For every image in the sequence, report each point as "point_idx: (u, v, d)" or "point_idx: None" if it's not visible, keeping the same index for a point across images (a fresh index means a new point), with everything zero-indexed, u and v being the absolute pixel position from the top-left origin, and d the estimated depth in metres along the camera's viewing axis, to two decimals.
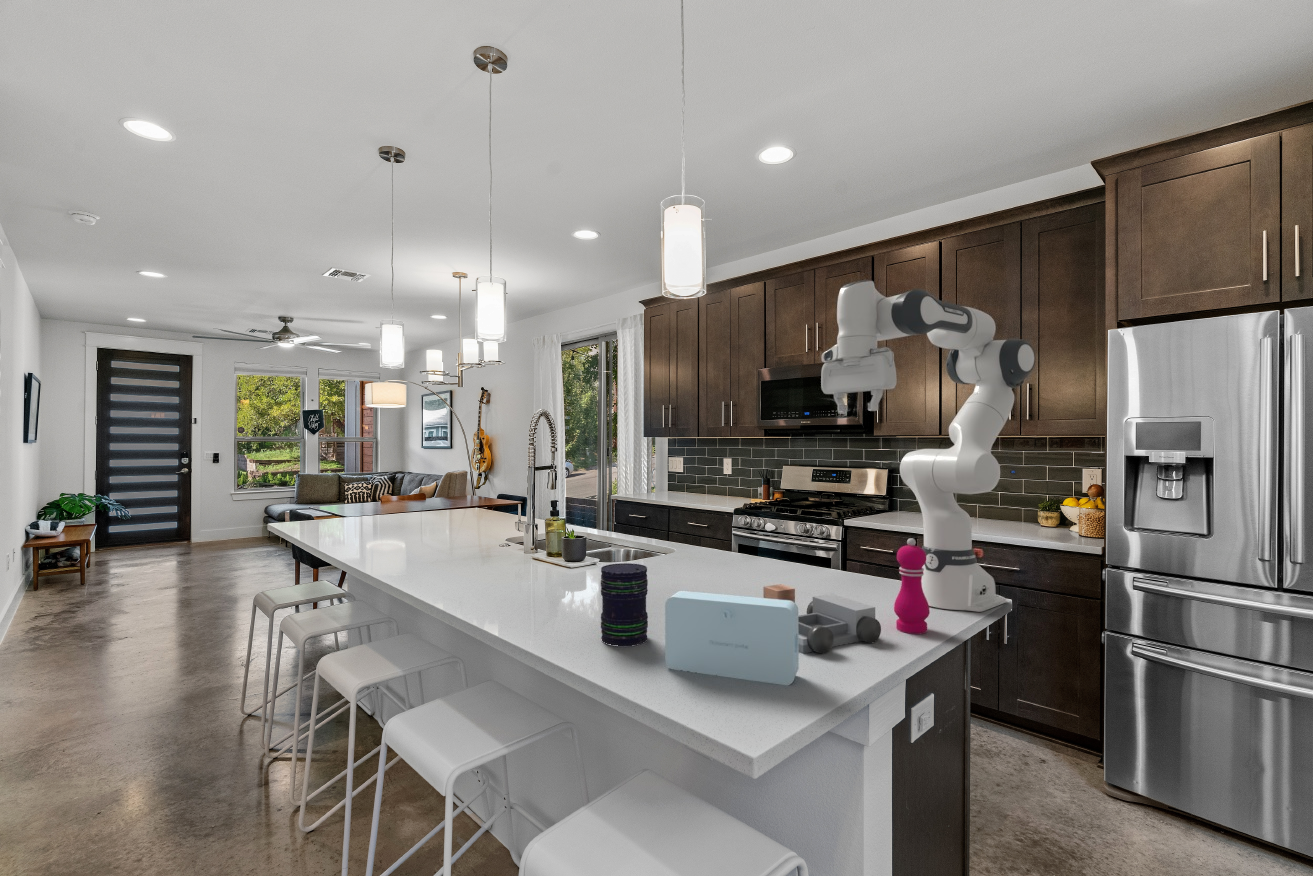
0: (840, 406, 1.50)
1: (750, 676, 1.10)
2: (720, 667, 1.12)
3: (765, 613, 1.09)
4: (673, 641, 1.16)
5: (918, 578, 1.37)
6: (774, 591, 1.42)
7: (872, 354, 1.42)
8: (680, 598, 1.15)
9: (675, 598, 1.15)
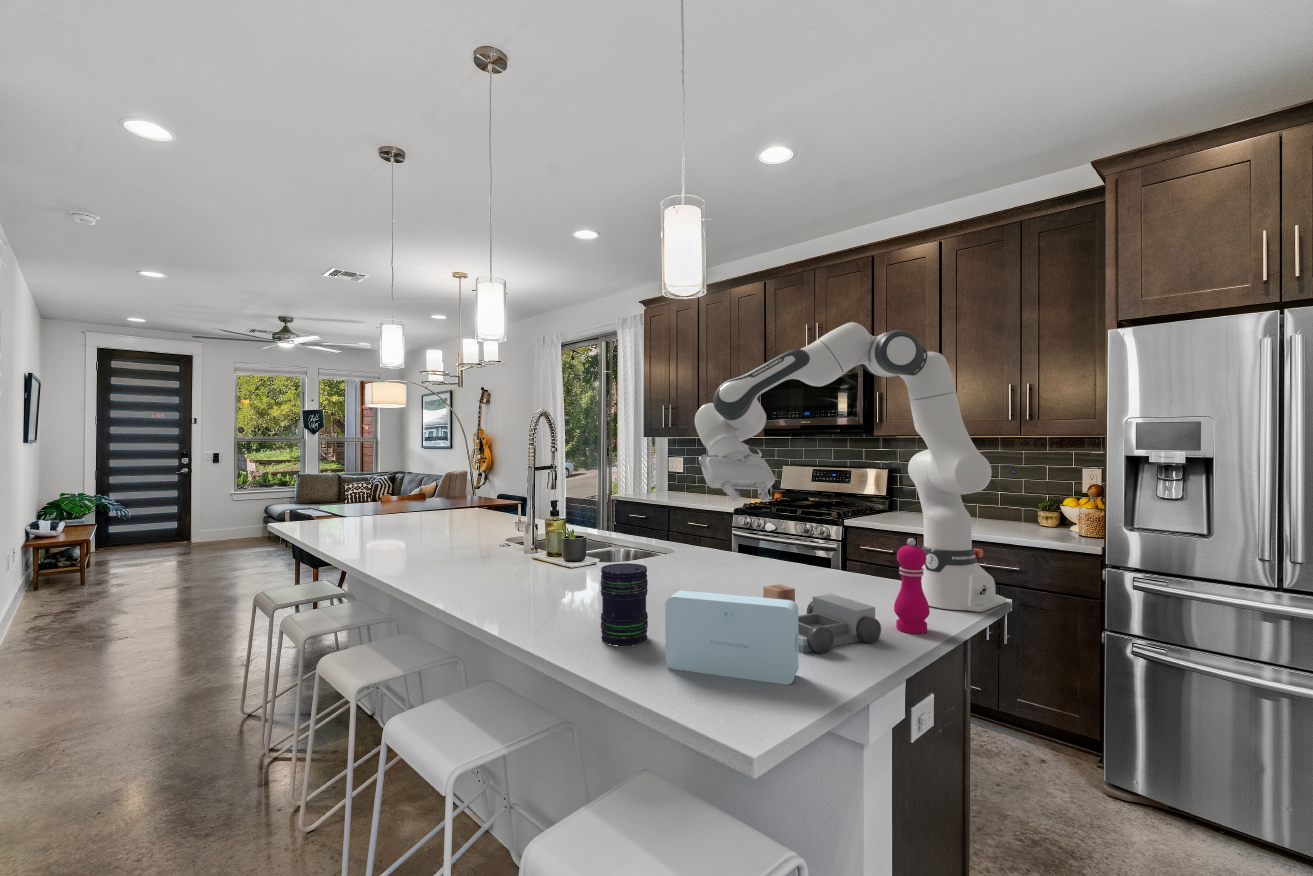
0: None
1: (750, 675, 1.11)
2: (720, 666, 1.13)
3: (765, 612, 1.10)
4: (673, 641, 1.16)
5: (918, 578, 1.37)
6: (774, 591, 1.42)
7: None
8: (680, 598, 1.15)
9: (675, 598, 1.16)
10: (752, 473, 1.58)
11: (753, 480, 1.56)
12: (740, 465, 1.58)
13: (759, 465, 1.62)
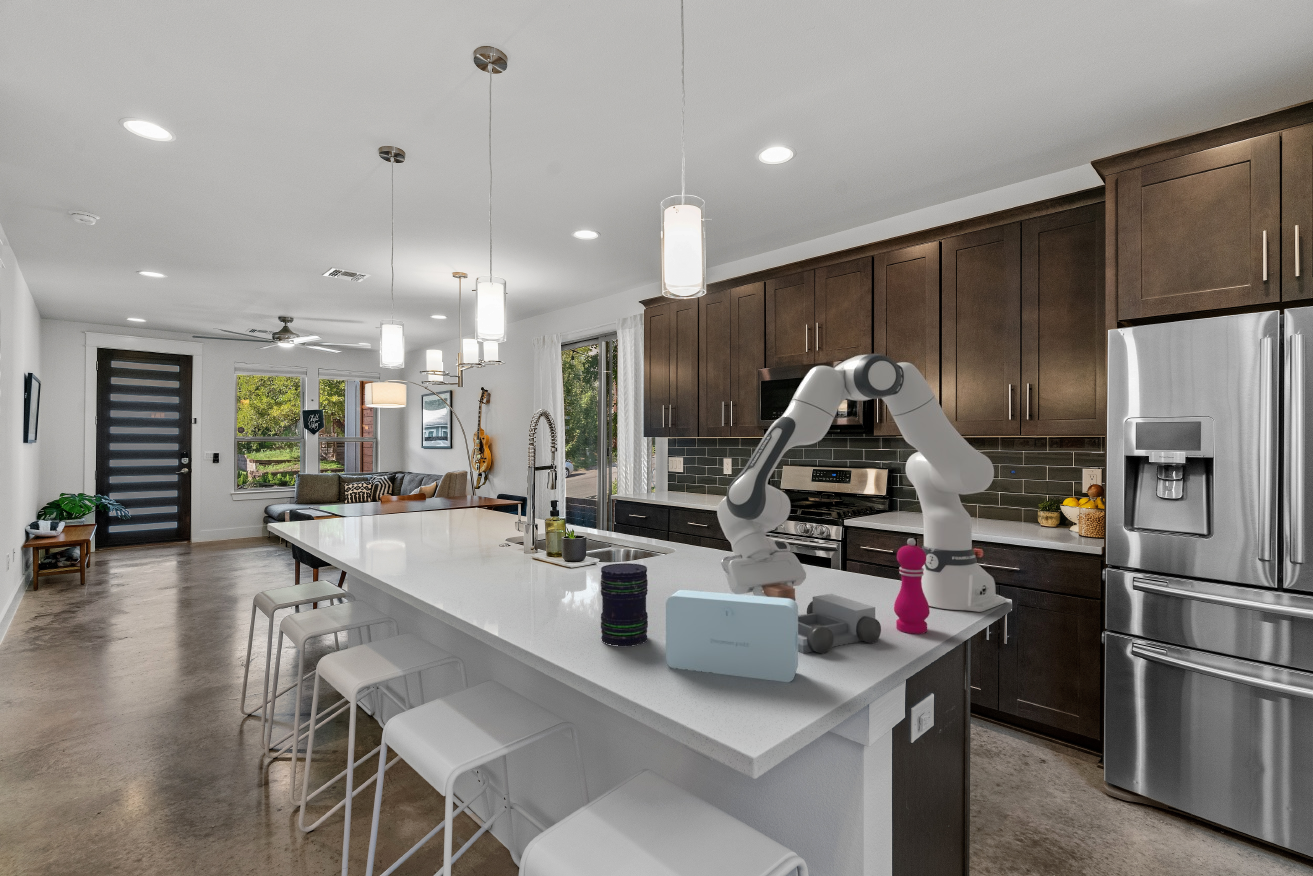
0: None
1: (751, 673, 1.12)
2: (721, 665, 1.13)
3: (766, 611, 1.11)
4: (674, 640, 1.16)
5: (918, 578, 1.37)
6: (774, 591, 1.42)
7: None
8: (681, 597, 1.16)
9: (676, 597, 1.16)
10: (780, 572, 1.49)
11: (781, 580, 1.47)
12: (766, 564, 1.49)
13: (788, 560, 1.52)
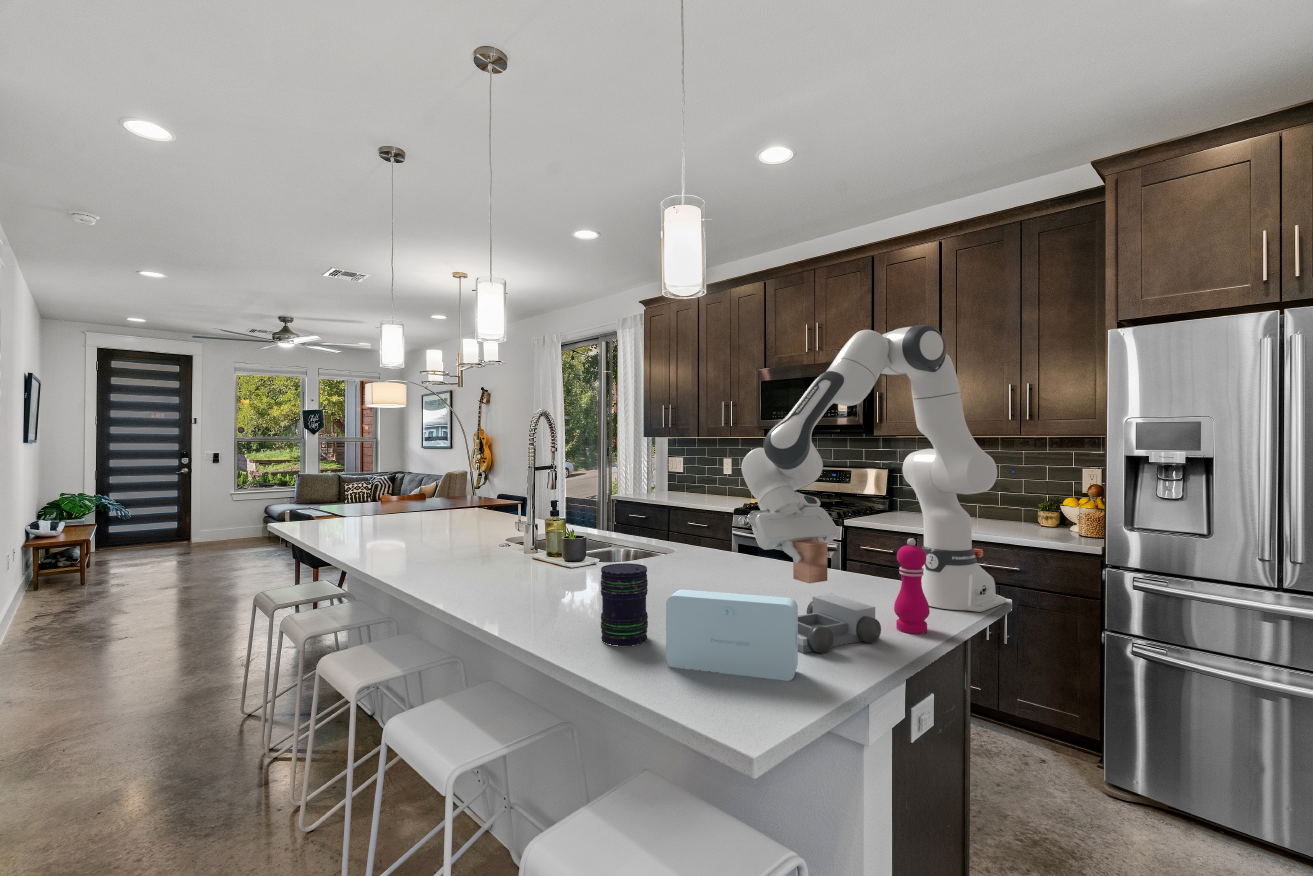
0: None
1: (751, 672, 1.12)
2: (721, 664, 1.14)
3: (766, 610, 1.11)
4: (674, 640, 1.17)
5: (918, 578, 1.37)
6: (805, 545, 1.33)
7: None
8: (681, 597, 1.16)
9: (676, 597, 1.16)
10: (810, 527, 1.39)
11: (812, 536, 1.38)
12: (796, 519, 1.40)
13: (818, 516, 1.43)
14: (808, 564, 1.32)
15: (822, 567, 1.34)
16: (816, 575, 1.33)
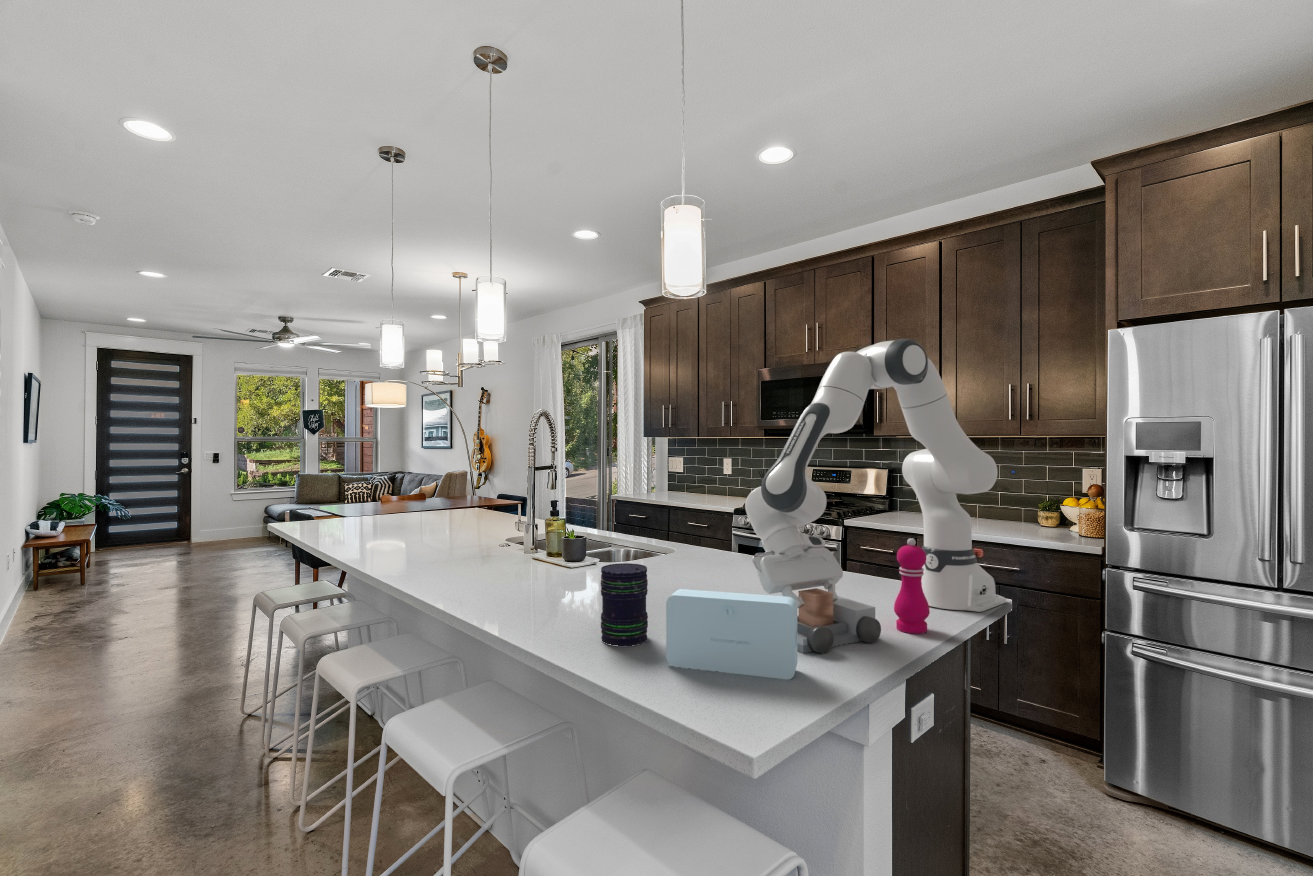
0: None
1: (751, 671, 1.13)
2: (721, 663, 1.14)
3: (766, 609, 1.12)
4: (674, 639, 1.17)
5: (918, 578, 1.37)
6: (811, 596, 1.31)
7: None
8: (681, 596, 1.17)
9: (676, 596, 1.17)
10: (815, 569, 1.38)
11: (817, 579, 1.36)
12: (801, 561, 1.39)
13: (823, 557, 1.42)
14: (814, 615, 1.31)
15: (828, 618, 1.32)
16: None
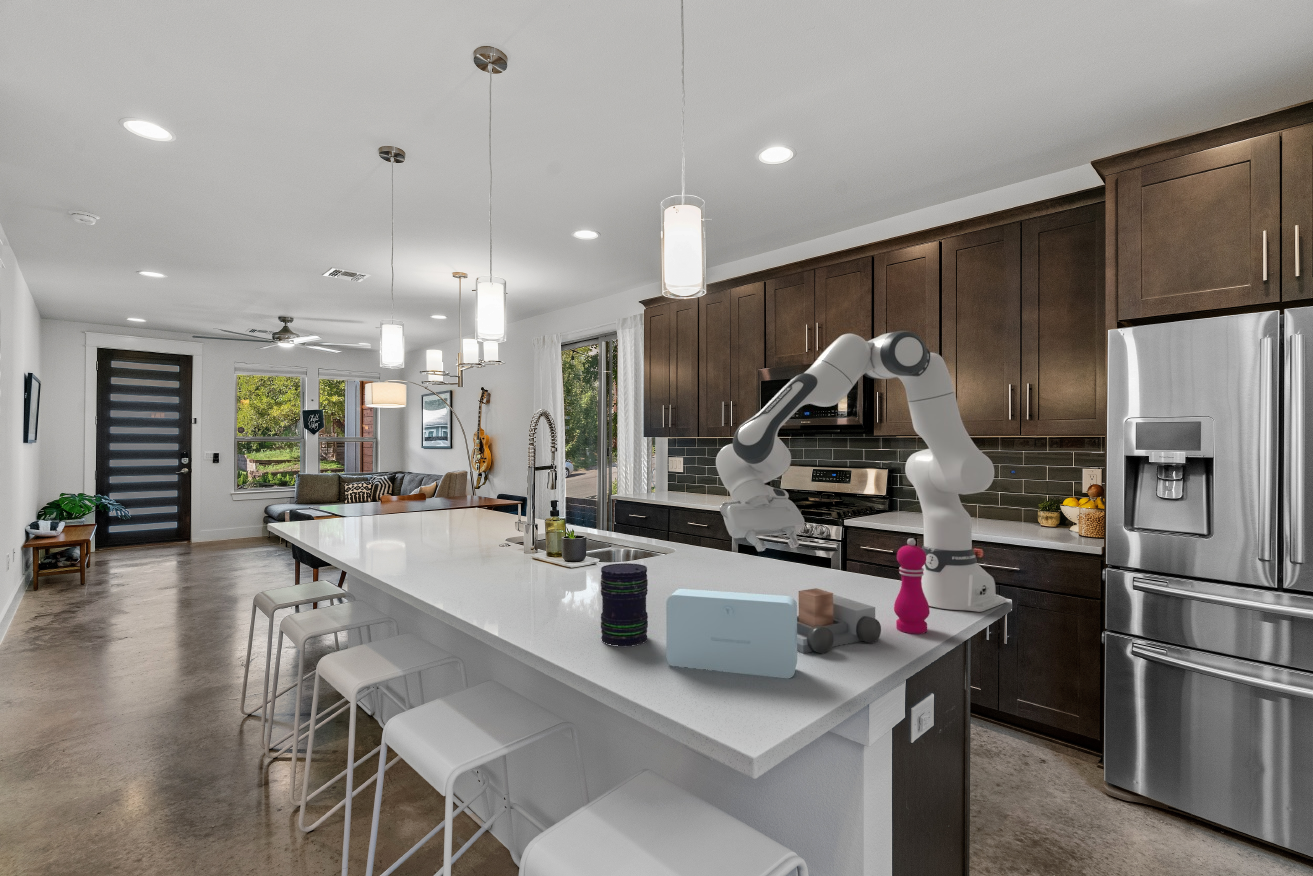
0: None
1: (752, 670, 1.13)
2: (721, 662, 1.15)
3: (766, 608, 1.12)
4: (674, 639, 1.17)
5: (918, 578, 1.37)
6: (811, 596, 1.31)
7: None
8: (681, 596, 1.17)
9: (676, 596, 1.17)
10: (778, 517, 1.49)
11: (779, 526, 1.47)
12: (765, 510, 1.50)
13: (786, 507, 1.53)
14: (814, 615, 1.31)
15: (828, 618, 1.32)
16: None
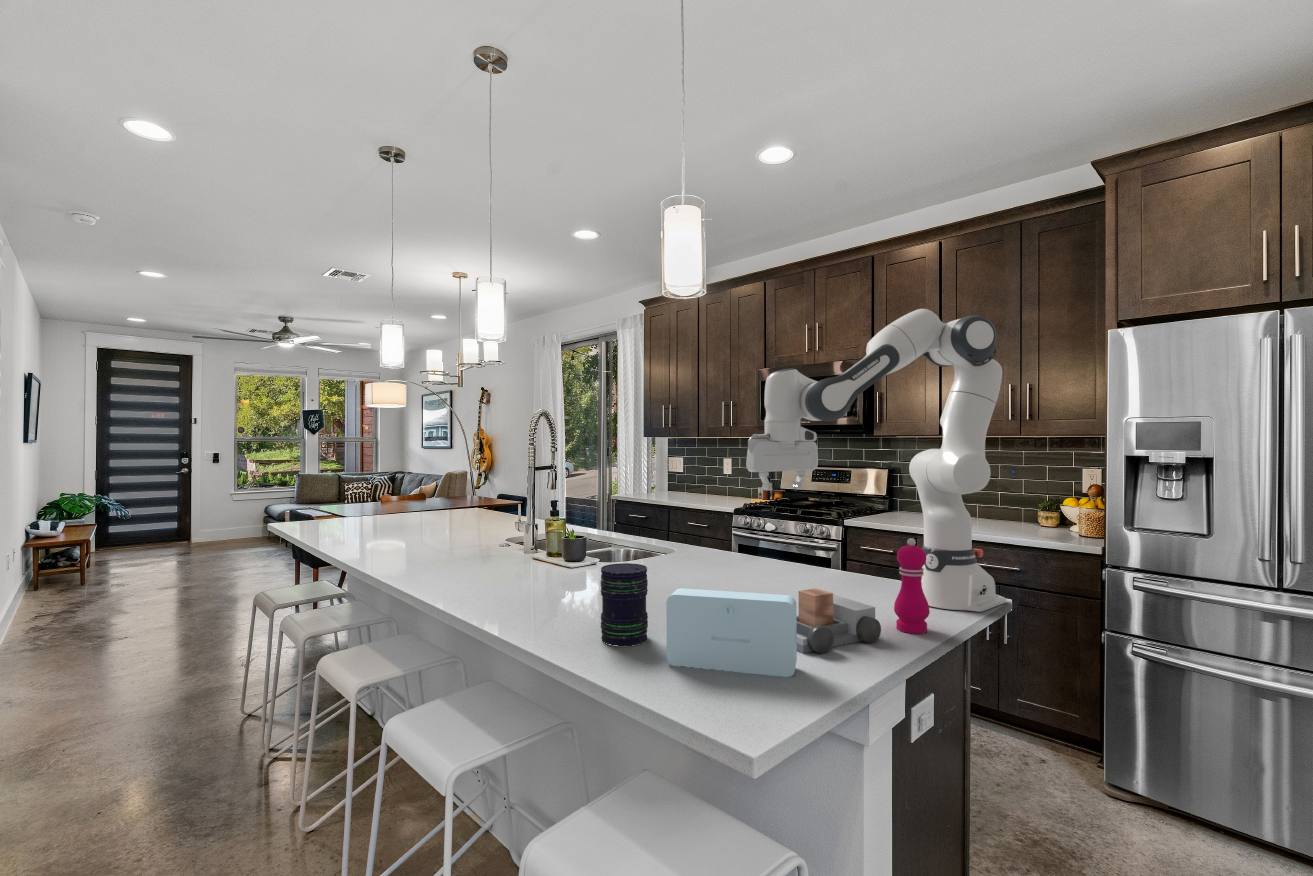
0: None
1: (752, 669, 1.14)
2: (722, 661, 1.15)
3: (766, 607, 1.13)
4: (674, 638, 1.17)
5: (918, 578, 1.37)
6: (811, 596, 1.31)
7: None
8: (682, 595, 1.17)
9: (677, 596, 1.17)
10: (795, 461, 1.59)
11: (793, 470, 1.58)
12: (788, 450, 1.58)
13: (808, 449, 1.61)
14: (814, 615, 1.31)
15: (828, 618, 1.32)
16: None
